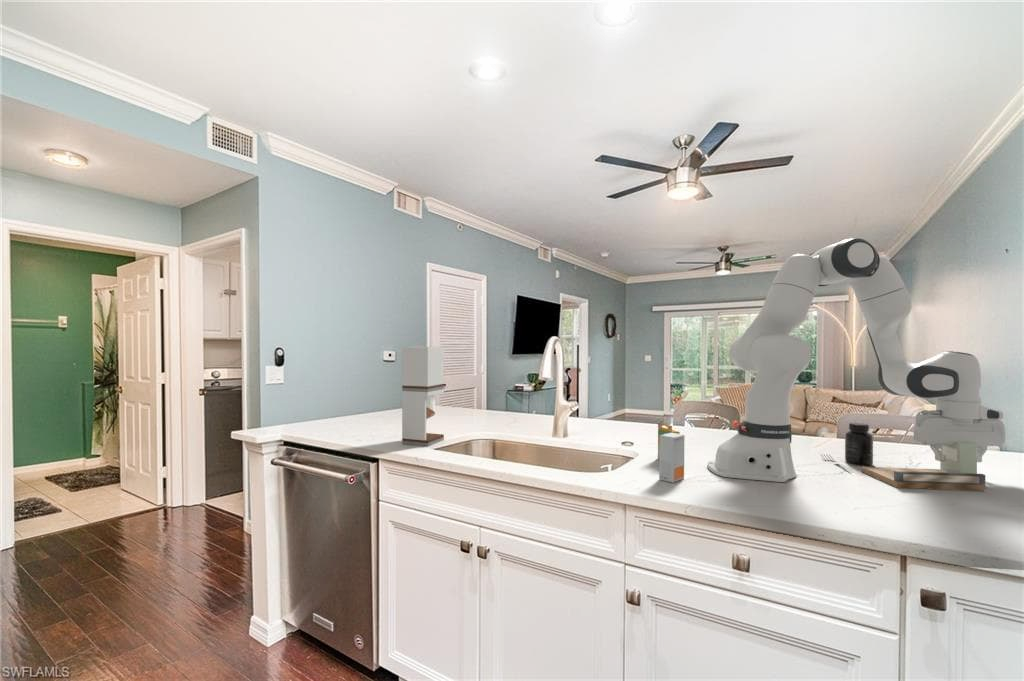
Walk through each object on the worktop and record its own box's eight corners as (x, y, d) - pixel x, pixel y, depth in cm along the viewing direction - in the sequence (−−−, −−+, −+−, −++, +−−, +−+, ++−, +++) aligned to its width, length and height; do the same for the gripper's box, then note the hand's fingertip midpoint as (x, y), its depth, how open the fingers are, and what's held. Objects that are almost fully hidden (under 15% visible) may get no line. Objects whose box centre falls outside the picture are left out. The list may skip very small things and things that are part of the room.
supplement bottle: (878, 467, 135) (878, 426, 135) (852, 465, 136) (852, 425, 136) (865, 461, 141) (865, 422, 141) (840, 459, 143) (840, 421, 143)
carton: (959, 480, 121) (959, 443, 121) (940, 473, 128) (940, 438, 128) (977, 481, 121) (977, 443, 121) (956, 474, 127) (956, 438, 127)
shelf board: (897, 488, 115) (897, 472, 115) (861, 471, 129) (861, 457, 129) (986, 491, 113) (986, 475, 113) (940, 474, 127) (940, 460, 127)
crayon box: (680, 463, 138) (680, 425, 138) (671, 464, 137) (671, 426, 137) (665, 457, 145) (665, 421, 145) (657, 458, 144) (657, 422, 144)
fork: (859, 482, 121) (859, 475, 121) (819, 459, 145) (819, 453, 145) (873, 483, 121) (873, 476, 121) (830, 459, 144) (830, 454, 144)
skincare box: (673, 483, 119) (673, 437, 119) (658, 479, 122) (658, 435, 122) (685, 478, 123) (685, 434, 123) (670, 475, 126) (670, 432, 126)
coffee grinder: (427, 446, 160) (427, 347, 161) (402, 444, 164) (402, 347, 164) (443, 439, 171) (443, 346, 171) (419, 437, 175) (419, 346, 175)
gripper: (924, 411, 123) (924, 463, 123) (1010, 413, 120) (1010, 465, 120) (907, 408, 129) (907, 457, 129) (988, 409, 126) (989, 459, 126)
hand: (958, 461), depth 124 cm, fingers open, 7 cm apart
